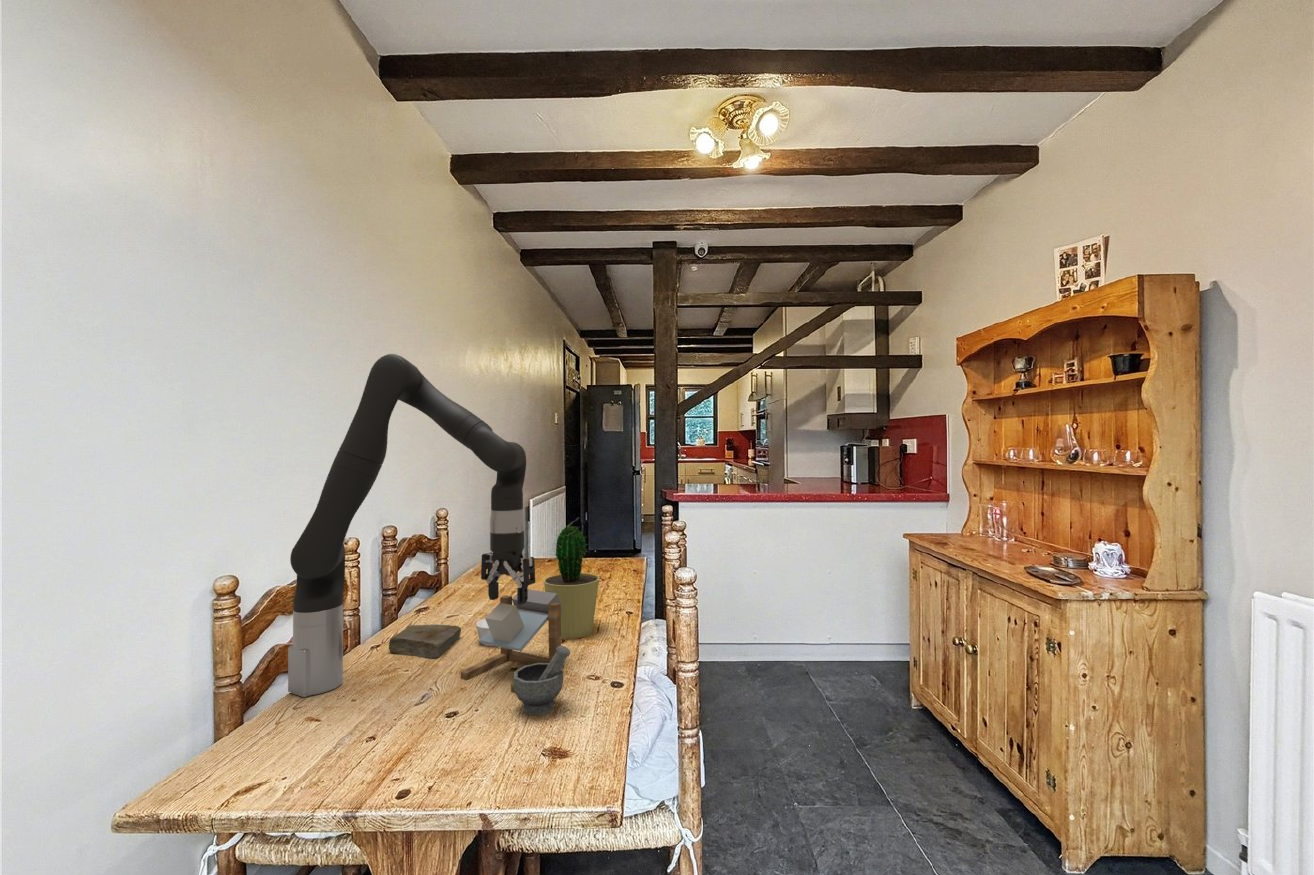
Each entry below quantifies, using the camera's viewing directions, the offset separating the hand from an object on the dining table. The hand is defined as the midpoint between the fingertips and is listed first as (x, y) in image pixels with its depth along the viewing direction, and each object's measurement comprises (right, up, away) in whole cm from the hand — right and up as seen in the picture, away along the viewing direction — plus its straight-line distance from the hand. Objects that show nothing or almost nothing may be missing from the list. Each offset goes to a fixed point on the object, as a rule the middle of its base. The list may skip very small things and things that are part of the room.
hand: (507, 601), depth 121 cm
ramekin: (-9, -18, +23) cm, 30 cm away
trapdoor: (+3, -8, +5) cm, 10 cm away
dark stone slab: (-27, -18, +19) cm, 37 cm away
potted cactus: (+10, -17, +28) cm, 35 cm away
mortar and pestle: (+11, -16, -16) cm, 25 cm away
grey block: (0, -7, 0) cm, 7 cm away
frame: (+1, -16, +1) cm, 17 cm away
